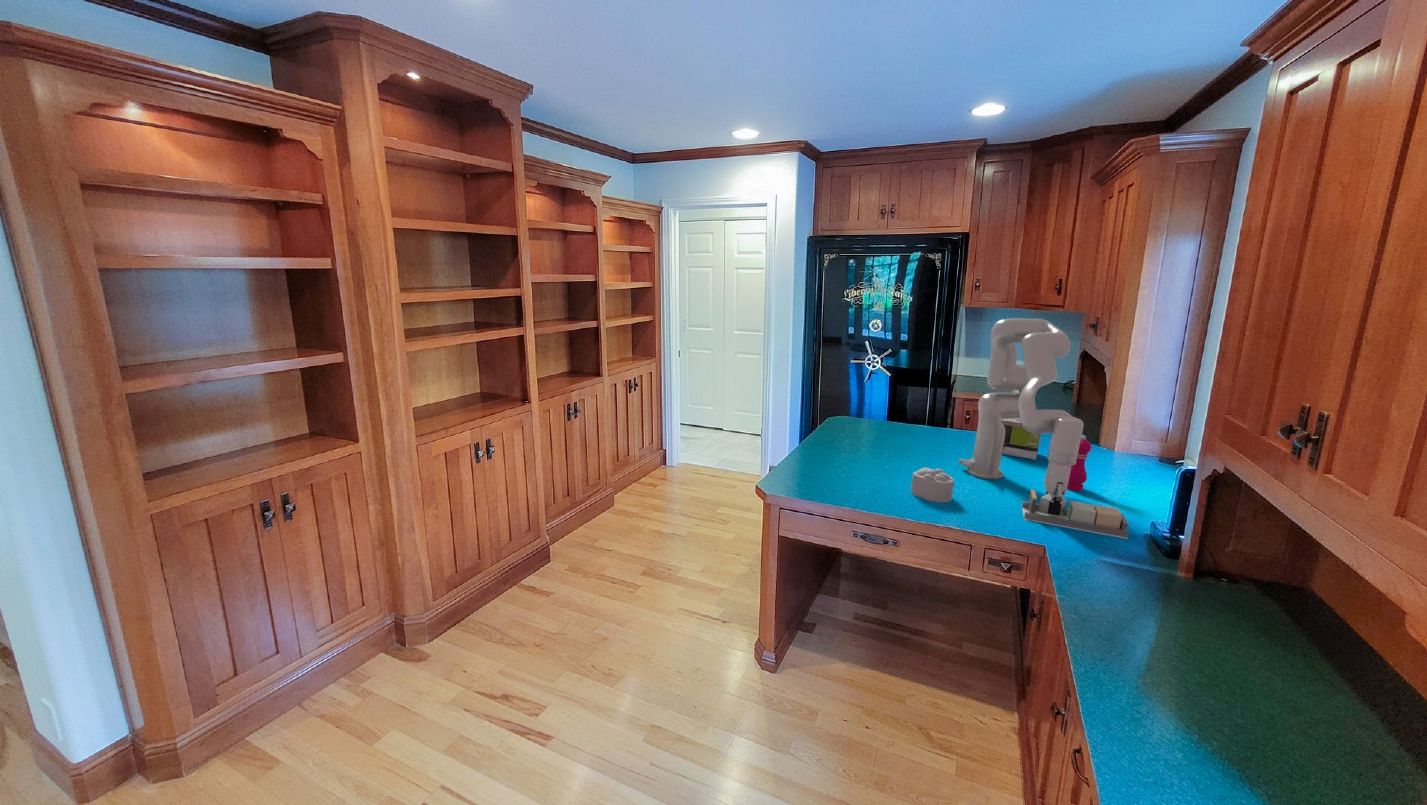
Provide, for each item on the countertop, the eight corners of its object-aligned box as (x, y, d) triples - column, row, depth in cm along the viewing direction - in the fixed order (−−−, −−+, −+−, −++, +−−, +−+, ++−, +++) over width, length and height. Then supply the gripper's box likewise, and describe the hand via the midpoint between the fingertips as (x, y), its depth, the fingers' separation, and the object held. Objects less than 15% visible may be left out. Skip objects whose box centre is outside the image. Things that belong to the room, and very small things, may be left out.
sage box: (1069, 524, 172) (1073, 508, 170) (1066, 516, 177) (1069, 500, 175) (1092, 528, 169) (1096, 512, 168) (1088, 520, 175) (1092, 504, 173)
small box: (1056, 517, 172) (1059, 503, 171) (1037, 510, 176) (1040, 496, 175) (1064, 513, 175) (1067, 498, 174) (1045, 506, 180) (1048, 492, 178)
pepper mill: (1087, 492, 197) (1099, 439, 192) (1065, 490, 199) (1076, 437, 193) (1079, 484, 204) (1090, 433, 199) (1057, 482, 205) (1068, 431, 200)
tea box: (1037, 453, 235) (1043, 420, 231) (1035, 460, 227) (1042, 426, 223) (998, 446, 243) (1003, 413, 239) (995, 453, 235) (1000, 419, 231)
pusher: (1029, 516, 175) (1033, 497, 174) (1027, 508, 181) (1031, 489, 180) (1033, 517, 175) (1036, 498, 173) (1030, 508, 181) (1034, 490, 179)
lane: (1023, 522, 174) (1026, 507, 173) (1021, 508, 184) (1023, 494, 183) (1127, 541, 164) (1131, 526, 163) (1118, 525, 174) (1122, 511, 172)
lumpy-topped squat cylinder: (921, 485, 201) (924, 462, 198) (957, 497, 191) (961, 473, 189) (907, 493, 194) (910, 469, 191) (943, 505, 185) (946, 481, 182)
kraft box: (1094, 529, 169) (1098, 512, 168) (1090, 520, 174) (1094, 504, 173) (1117, 533, 167) (1122, 516, 165) (1113, 524, 172) (1117, 508, 171)
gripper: (1044, 445, 180) (1035, 495, 185) (1051, 463, 164) (1041, 518, 169) (1071, 449, 177) (1061, 500, 182) (1081, 468, 162) (1069, 523, 166)
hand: (1051, 508), depth 175 cm, fingers closed on small box, 7 cm apart
